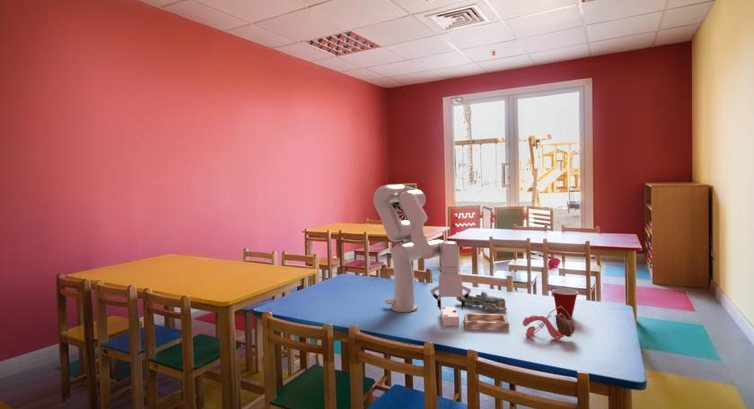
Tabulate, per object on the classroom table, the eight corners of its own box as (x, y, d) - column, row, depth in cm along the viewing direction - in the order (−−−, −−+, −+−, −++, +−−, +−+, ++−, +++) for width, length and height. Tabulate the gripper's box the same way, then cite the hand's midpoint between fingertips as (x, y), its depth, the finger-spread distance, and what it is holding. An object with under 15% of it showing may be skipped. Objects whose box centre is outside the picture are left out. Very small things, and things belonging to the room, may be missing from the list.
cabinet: (465, 329, 176) (465, 321, 175) (464, 319, 186) (464, 312, 186) (509, 330, 173) (509, 322, 173) (505, 321, 184) (505, 313, 183)
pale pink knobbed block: (459, 326, 180) (458, 315, 180) (443, 326, 181) (443, 315, 180) (455, 315, 193) (454, 305, 193) (440, 315, 194) (440, 306, 193)
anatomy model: (518, 320, 174) (548, 293, 169) (548, 348, 170) (580, 322, 164) (515, 329, 164) (546, 301, 158) (546, 360, 160) (580, 332, 154)
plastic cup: (576, 314, 190) (577, 287, 190) (579, 322, 180) (580, 294, 179) (550, 312, 194) (550, 286, 193) (552, 320, 184) (552, 292, 183)
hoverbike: (502, 315, 191) (502, 297, 191) (451, 306, 206) (451, 289, 205) (509, 309, 199) (509, 292, 199) (460, 301, 214) (460, 285, 213)
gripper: (429, 272, 183) (431, 311, 183) (470, 271, 180) (472, 311, 181) (429, 268, 190) (431, 306, 191) (469, 267, 187) (471, 306, 188)
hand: (451, 308), depth 186 cm, fingers open, 9 cm apart
